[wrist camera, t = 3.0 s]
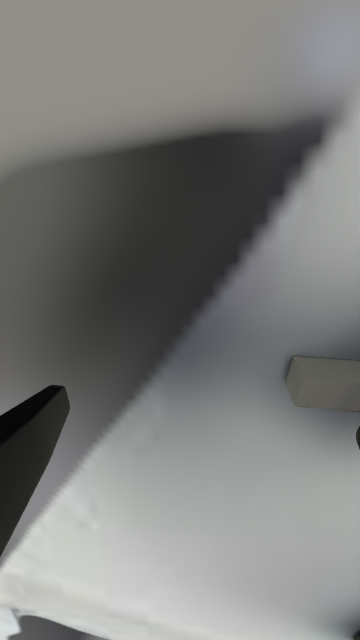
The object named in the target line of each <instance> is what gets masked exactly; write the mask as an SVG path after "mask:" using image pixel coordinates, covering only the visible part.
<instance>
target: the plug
mask: <svg viewBox="0 0 360 640" xmlns="http://www.w3.org/2000/svg"><path fill="white" fill-rule="evenodd" d="M286 384H287V386H288V389H289V391H290V394H291V397H292V399H293V402H294V404H295V406H301V407H312V408H323V409H334V410H346V411H357V412H360V361H353V360H340V359H327V358H314V357H300V356H293V358H292V362H291V365H290V369H289V372H288V376H287V379H286Z"/></svg>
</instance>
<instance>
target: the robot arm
mask: <svg viewBox="0 0 360 640" xmlns="http://www.w3.org/2000/svg"><path fill="white" fill-rule="evenodd" d="M69 409H70V404H69V400H68V396H67V392H66V388H65V387H64V386H58V385H51V386H48V387H47V388H45V389H43V390H42V391H40V392H38V393H37V394H35V395H34V396H32V397H30V398H29V399H27V400H25V401H24V402H22V403H20V404H19V405H17V406H16V407H14V408H12V409H11V410H9V411H8V412H6V413H4V414H2V415H1V416H0V557H1V555H2V553H3V551H4V549H5V547H6V545H7V543H8V541H9V539H10V537H11V535H12V533H13V531H14V530H15V527H16V526H17V524H18V522H19V520H20V518H21V516H22V514H23V512H24V510H25V508H26V506H27V504H28V502H29V500H30V498H31V496H32V494H33V492H34V490H35V488H36V487H37V485H38V482H39V481H40V479H41V477H42V475H43V473H44V471H45V469H46V467H47V465H48V463H49V461H50V458H51V456H52V454H53V451H54V448H55V446H56V444H57V441H58V438H59V436H60V433H61V431H62V428H63V426H64V423H65V421H66V418H67V416H68V413H69ZM356 440H357V443H358V446H359V449H360V426H359V428H358V430H357V432H356ZM354 640H360V635H359V636H358V637H357V638H356V639H354Z"/></svg>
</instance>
